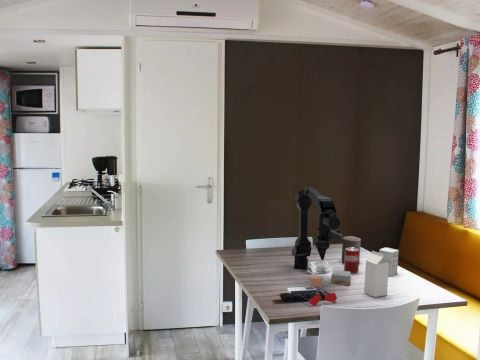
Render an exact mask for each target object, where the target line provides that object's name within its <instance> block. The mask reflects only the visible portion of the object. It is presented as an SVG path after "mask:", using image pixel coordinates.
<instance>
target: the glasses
mask: <svg viewBox="0 0 480 360" xmlns="http://www.w3.org/2000/svg"><path fill="white" fill-rule="evenodd" d="M317 290H318V291H320V290H322V291H323V292H325V293H324V298H323V296H321V295H322V293H320V294H313V295H311V296H310V297H309V298H306V297H305V296H304V295H302V294H300V293H299V292H297V293H296V294H297V295H298V294H299V295H298V296H300V297H301V298H303V299H304V300H306V301H307V302H308V304H310V305H311V306H313V307H314V305H315V306H317V304H318V303H320V302H321V301H322V298H323V300H324V301H326V302H328V303H335V302H336V300H337V299H338V296H337V293H336V292H329V291H327V290H325V289H323V288H321V287H318V289H317Z"/></svg>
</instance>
